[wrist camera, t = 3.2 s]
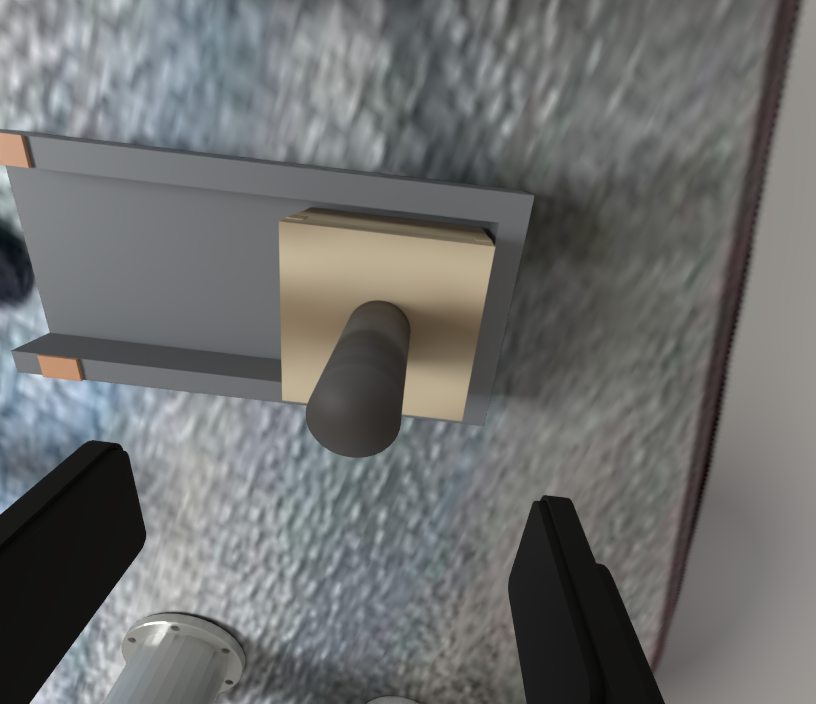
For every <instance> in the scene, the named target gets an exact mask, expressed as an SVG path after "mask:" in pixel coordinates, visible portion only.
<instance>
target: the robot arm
mask: <svg viewBox="0 0 816 704" xmlns="http://www.w3.org/2000/svg"><path fill="white" fill-rule="evenodd" d="M145 540H146V530H145V525H144V521H143V517H142V512H141V508H140V503H139V499H138V495H137V490H136V486H135V481H134V477H133V473H132V468H131V464H130V459H129V455H128V453H127V452H126V451H123V448H122V446H121V445H120V444H117V443H110V442H102V441H94V440H92V441H88V442H86V443H85V444H83V445H82V446H81V447H80V448H79V449H77V450H76V451H75V452H74V453H73V454H71V455H70V456H69V457H68V458H67V459H66V460H64V461H63V462H62V463H61V464H60V465H58V466H57V467H56V468H55V469H54V470H53V471H51V472H50V473H49V474H48V475H47V476H45V477H44V478H43V479H42V480H41V481H40V482H38V483H37V484H36V485H35V486H34V487H32V488H31V489H30V490H29V491H28V492H27V493H25V494H24V495H23V496H22V497H21V498H19V499H18V500H17V501H16V502H15V503H14V504H12V505H11V506H10V507H9V508H8V509H6V510H5V511H4V512H3V513H2V514H1V515H0V704H29V703H30V702H31V701H32V699H33V698H34V697H35V695H36V694H37V692H38V691H39V690H40V688H41V687H42V686H43V684H44V683H45V681H46V680H47V679H48V677H49V676H50V675H51V673H52V672H53V670H54V669H55V668H56V666H57V665H58V664H59V662H60V661H61V659H62V658H63V657H64V655H65V654H66V653H67V651H68V650H69V648H70V647H71V646H72V644H73V643H74V642H75V640H76V639H77V637H78V636H79V635H80V633H81V632H82V631H83V629H84V628H85V627H86V625H87V624H88V622H89V621H90V620H91V618H92V617H93V616H94V614H95V613H96V611H97V610H98V609H99V607H100V606H101V605H102V603H103V602H104V600H105V599H106V598H107V596H108V595H109V594H110V592H111V591H112V589H113V588H114V587H115V585H116V584H117V583H118V581H119V580H120V578H121V577H122V576H123V574H124V573H125V572H126V570H127V569H128V567H129V566H130V565H131V563H132V562H133V561H134V559H135V558H136V556H137V555H138V554H139V552H140V551H141V549H142V548H143V546H144V543H145ZM508 592H509V599H510V605H511V611H512V617H513V624H514V630H515V636H516V642H517V648H518V654H519V660H520V666H521V672H522V678H523V684H524V690H525V696H526V702H527V704H665V703H664V700H663V698H662V696H661V693H660V691H659V688H658V686H657V683H656V681H655V679H654V676H653V674H652V671H651V669H650V666H649V664H648V662H647V659H646V657H645V654H644V652H643V650H642V647H641V645H640V642H639V640H638V637H637V635H636V633H635V630H634V628H633V625H632V623H631V621H630V618H629V616H628V613H627V611H626V608H625V606H624V604H623V601H622V599H621V596H620V594H619V592H618V589H617V587H616V584H615V582H614V580H613V577H612V575H611V573H610V571H609V570H608V569H607V567H606V566H605V565H602V564H598V563H596V562H595V559H594V557H593V554H592V551H591V549H590V546H589V544H588V541H587V538H586V536H585V533H584V531H583V528H582V526H581V523H580V520H579V518H578V515H577V513H576V510H575V508H574V505H573V503H572V501H571V500H570V499H569V498H563V497H555V496H547V495H544V496H543V497H542V498H541V500H540V501H534V502H533V504H532V507H531V510H530V513H529V516H528V520H527V523H526V526H525V529H524V532H523V536H522V539H521V542H520V545H519V548H518V551H517V555H516V558H515V561H514V564H513V567H512V571H511V574H510V577H509V583H508ZM122 654H123V657H124V659H125V661H126V663H127V664H126V666H125V667H124V669H123V671H122V672H121V674H120V676H119V677H118V679H117V681H116V682H115V684H114V686H113V687H112V689H111V691H110V692H109V694H108V696H107V697H106V699H105V701H104V702H103V704H215V702H216V699H217V696H218V694H219V693H222V692H224V691H227V690H229V689H230V688H232V687H233V686H235V685H236V684H237V682H238V681H239V680H240V678H241V675H242V673H243V670H244V667H245V655H244V653H243V650H242V648H241V646H240V645H239V644H238V642H237V641H236V640H235V639H234V638H233V637H232V636H231V635H230V634H229V633H227V632H226V631H225V630H223V629H222V628H220V627H218V626H216V625H215V624H213V623H211V622H208V621H206V620H203V619H200V618H197V617H193V616H189V615H183V614H167V613H165V614H157V615H152V616H149V617H145V618H143V619H141V620H139V621H137V622H136V623H135V624H134V625H133V626H131V628H130V629H129V631H128V632H127V634H126V635H125V637H124V639H123V642H122Z"/></svg>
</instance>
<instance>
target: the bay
mask: <svg viewBox="0 0 816 704" xmlns="http://www.w3.org/2000/svg"><path fill="white" fill-rule="evenodd" d="M0 165H6V169H7V173H8V177H9V180H10V184H11V188H12V192H13V195H14V199H15V203H16V207H17V210H18V214H19V218H20V222H21V225H22V229H23V233H24V237H25V241H26V244H27V248H28V252H29V256H30V259H31V263H32V267H33V271H34V274H35V278H36V282H37V286H38V290H39V293H40V297H41V301H42V305H43V308H44V312H45V316H46V320H47V323H48V327H49V331H50V333H48V334H46V335H44V336H42V337H40V338H38V339H35V340H33V341H31V342H29V343H27V344H25V345H22V346H20V347H18V348H16V349H14V350H12V351H11V352H12V355H13V358H14V361H15V365H16V368H17V371H18V372H22V373H31V374H40V375H43V377H50V378H59V379H67V380H76V381H82V380H91V381H100V382H108V383H117V384H125V385H134V386H143V387H151V388H160V389H168V390H177V391H186V392H194V393H203V394H211V395H220V396H229V397H237V398H246V399H254V400H263V401H271V402H280V403H289V404H297V405H306V406H307V403H301V402H292V401H284V400H282V365H281V314H280V263H279V221H281V220H283V219H285V218H286V217H287V216H290V215H294V214H297V213H299V212H301V211H304V210H306V209H308V208H311V207H315V208H323V209H332V210H340V211H349V212H357V213H366V214H374V215H383V216H391V217H400V218H408V219H417V220H425V221H434V222H442V223H451V224H459V225H468V226H476V227H481V228H482V229H483V230H484V232H485V233H486V235H487V236H488V237H489V238H490V239H491V240H492V243H493V244H494V246H495V251H494V256H493V262H492V267H491V272H490V277H489V283H488V288H487V293H486V298H485V304H484V309H483V314H482V319H481V325H480V330H479V335H478V340H477V345H476V351H475V356H474V361H473V366H472V372H471V377H470V382H469V387H468V393H467V398H466V403H465V408H464V413H463V419H462V421H455V420H447V419H438V418H430V417H421V416H412V415H404V414H402V416H401V417H409V418H418V419H426V420H435V421H443V422H452V423H460V424H469V425H478V426H484V425H485V420H486V416H487V411H488V407H489V402H490V398H491V393H492V388H493V384H494V379H495V375H496V370H497V366H498V361H499V356H500V352H501V347H502V343H503V338H504V333H505V329H506V324H507V320H508V315H509V311H510V306H511V301H512V297H513V292H514V288H515V283H516V279H517V274H518V269H519V265H520V260H521V256H522V251H523V247H524V242H525V237H526V233H527V228H528V224H529V219H530V214H531V210H532V205H533V201H534V195H532V194H529V193H526V192H524V191H521V190H516V189H508V188H499V187H491V186H482V185H474V184H465V183H457V182H448V181H440V180H431V179H423V178H414V177H406V176H397V175H389V174H380V173H372V172H363V171H355V170H347V169H338V168H330V167H321V166H313V165H304V164H296V163H287V162H279V161H270V160H262V159H253V158H245V157H236V156H228V155H219V154H211V153H202V152H194V151H185V150H177V149H168V148H160V147H151V146H143V145H134V144H126V143H117V142H109V141H101V140H92V139H84V138H75V137H67V136H58V135H50V134H41V133H33V132H24V131H16V130H3V129H0Z"/></svg>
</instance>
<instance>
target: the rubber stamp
mask: <svg viewBox="0 0 816 704" xmlns="http://www.w3.org/2000/svg"><path fill="white" fill-rule="evenodd" d="M494 251H495V246H494V244H493V243H492V240H491V239H490V238H489V237H488V236H487V235H486V233H485V232H484V230H483V229H482V228H481V227H476V226H468V225H459V224H451V223H442V222H434V221H425V220H417V219H408V218H400V217H391V216H383V215H374V214H366V213H357V212H349V211H340V210H332V209H323V208H315V207H311V208H308V209H306V210H304V211H301V212H299V213H297V214H294V215H290V216H287V217H286V218H285V219H283V220H281V221H279V263H280V314H281V365H282V400H284V401H292V402H301V403H307V407H306V420H307V425H308V427H309V430H310V431H311V433H312V435H313V436H314V438H315V439H316V440H317V441H318V442H319V443H320V444H321V445H322V446H324V447H325V448H327V449H328V450H330V451H332V452H334V453H336V454H339V455H342V456H347V457H356V458H358V457H368V456H372V455H375V454H377V453H380V452H381V451H383V450H385V449H386V448H387V447H389V446H390V445H391V444H392V443H393V441H394V440H395V439H396V437H397V435H398V432H399V430H400V425H401V416H402V414H404V415H412V416H421V417H430V418H438V419H447V420H455V421H462V419H463V413H464V408H465V403H466V398H467V393H468V387H469V382H470V377H471V372H472V366H473V361H474V356H475V351H476V345H477V340H478V335H479V330H480V325H481V319H482V314H483V309H484V304H485V298H486V293H487V288H488V283H489V277H490V272H491V267H492V262H493V256H494Z"/></svg>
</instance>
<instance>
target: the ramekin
mask: <svg viewBox="0 0 816 704" xmlns="http://www.w3.org/2000/svg"><path fill="white" fill-rule="evenodd" d="M367 704H419V703H418V702H416V701H414V700H411V699H408V698H405V697H399V696H384V697H379V698H376V699H373V700H371V701H369V702H368V703H367Z"/></svg>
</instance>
